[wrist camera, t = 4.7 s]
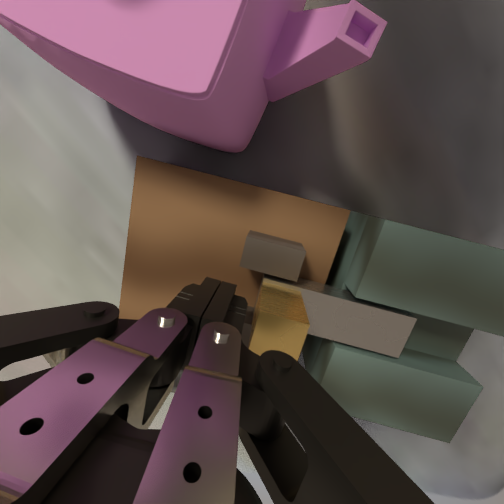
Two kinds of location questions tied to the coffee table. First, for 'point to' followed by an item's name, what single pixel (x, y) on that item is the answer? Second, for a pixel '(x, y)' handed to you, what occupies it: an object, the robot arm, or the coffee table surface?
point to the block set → (326, 272)
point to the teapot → (195, 55)
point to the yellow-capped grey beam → (323, 318)
